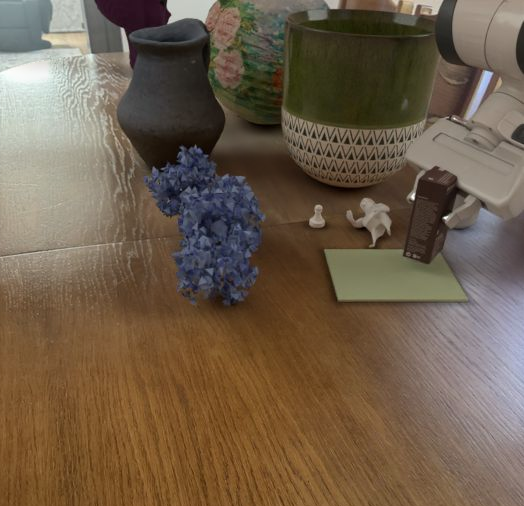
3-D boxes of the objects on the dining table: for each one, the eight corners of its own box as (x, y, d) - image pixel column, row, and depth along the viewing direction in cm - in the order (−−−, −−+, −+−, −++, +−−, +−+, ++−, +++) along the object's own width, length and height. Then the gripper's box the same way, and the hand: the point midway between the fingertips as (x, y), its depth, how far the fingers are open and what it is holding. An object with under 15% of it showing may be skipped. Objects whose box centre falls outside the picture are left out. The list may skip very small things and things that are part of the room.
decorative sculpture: (283, 224, 64) (231, 120, 85) (154, 250, 62) (133, 136, 83) (287, 318, 74) (240, 204, 95) (177, 342, 72) (154, 221, 93)
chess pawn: (308, 221, 95) (309, 201, 92) (323, 221, 95) (325, 201, 93) (310, 228, 93) (312, 208, 90) (325, 228, 93) (328, 208, 91)
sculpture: (179, 79, 166) (172, -45, 147) (102, 81, 161) (84, -46, 142) (170, 65, 179) (162, -51, 160) (98, 67, 174) (81, -52, 155)
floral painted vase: (339, 109, 147) (354, -29, 128) (328, 151, 122) (346, -13, 103) (219, 98, 151) (217, -36, 132) (185, 137, 125) (176, -23, 107)
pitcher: (101, 172, 108) (78, 25, 93) (166, 140, 124) (157, 9, 108) (190, 195, 101) (182, 40, 86) (248, 159, 117) (250, 21, 101)
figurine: (348, 237, 87) (336, 203, 96) (378, 257, 89) (364, 222, 98) (375, 207, 84) (360, 175, 93) (405, 229, 86) (388, 196, 95)
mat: (438, 251, 88) (438, 249, 88) (467, 301, 77) (468, 299, 77) (324, 251, 87) (324, 248, 86) (337, 301, 76) (338, 299, 76)
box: (430, 266, 80) (448, 184, 72) (401, 257, 82) (415, 177, 74) (446, 250, 84) (463, 170, 76) (417, 242, 86) (432, 164, 78)
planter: (298, 212, 97) (311, 37, 80) (263, 158, 117) (267, 8, 100) (438, 202, 102) (478, 35, 85) (381, 151, 122) (405, 8, 106)
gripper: (438, 97, 80) (372, 174, 83) (555, 143, 67) (471, 233, 69) (454, 125, 85) (391, 197, 87) (566, 174, 71) (488, 257, 74)
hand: (427, 213), depth 78 cm, fingers closed on box, 6 cm apart
